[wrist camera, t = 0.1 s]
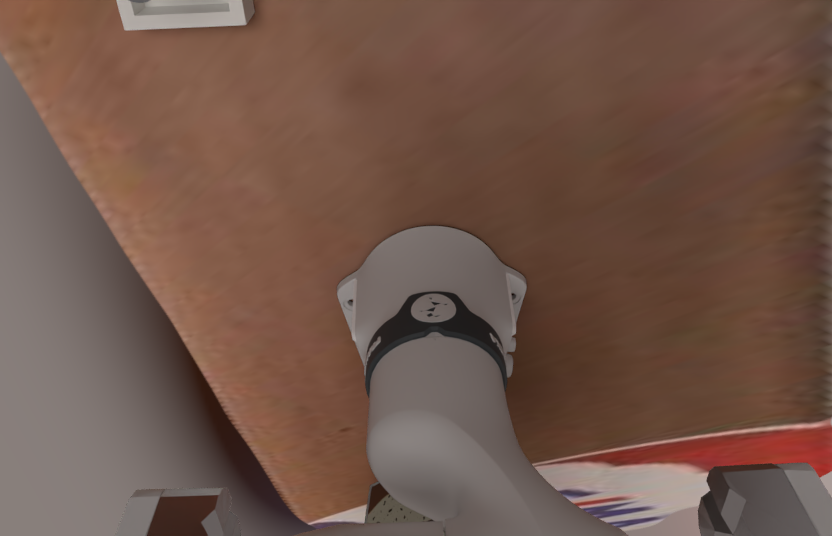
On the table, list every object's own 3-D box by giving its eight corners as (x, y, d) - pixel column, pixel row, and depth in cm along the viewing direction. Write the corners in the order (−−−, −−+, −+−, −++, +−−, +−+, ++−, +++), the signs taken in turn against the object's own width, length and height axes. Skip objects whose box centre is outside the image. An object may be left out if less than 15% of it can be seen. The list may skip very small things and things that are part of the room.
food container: (389, 513, 90) (388, 586, 82) (360, 489, 87) (355, 562, 79) (468, 477, 86) (475, 550, 78) (440, 451, 83) (444, 523, 75)
